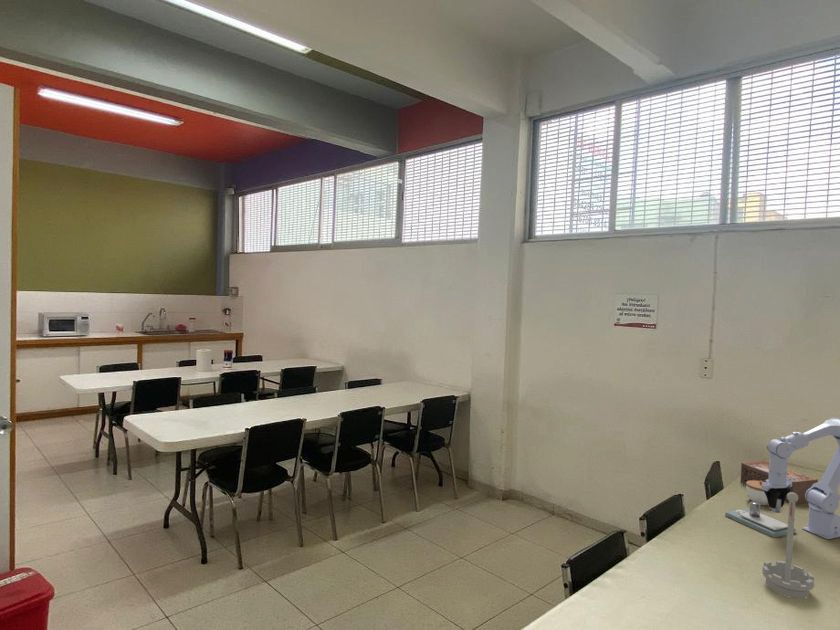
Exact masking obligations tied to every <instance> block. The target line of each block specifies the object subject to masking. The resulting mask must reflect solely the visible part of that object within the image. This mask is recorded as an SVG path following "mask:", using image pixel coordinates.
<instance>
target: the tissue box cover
mask: <svg viewBox="0 0 840 630" xmlns="http://www.w3.org/2000/svg"><path fill="white" fill-rule="evenodd" d="M740 464H741V467H740V482H739V483H740V484H742V483H743V484H742V485H744V484H745V485H744V486H746V482H747V481H751V480H754V481H762V482H766V480H768V477H769V461H766V460H760V461H748V462H741V463H740ZM787 480H788V481H791V482H792V487H789V486H788V487H787V488H788V489H790V490H791V492H793V493H796V494H797V495H798V501H797V502H795V505H797V504H804V503H808V501H807V500H806V498H805V493H806V491H807V490H808V489H810V488H811V487H812V485H813V484H814V483H817V482H819V479H818V478H815V477H812V476H809V475H806V474H804V473H801V472H798V471H795V470H792V469H790V468H787ZM785 502H786V503H788V504H789V500H788V499H787V497H786V500H785Z"/></svg>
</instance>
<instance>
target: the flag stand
mask: <svg viewBox="0 0 840 630" xmlns="http://www.w3.org/2000/svg"><path fill="white" fill-rule="evenodd" d="M787 499H788V500H789V503H788V514H787V515H788V517H787V525H788V531H787V535H786V546H785V547H786V550H785V561H783V560H775V563H772V561H770V560H766V561H764V562H763V565H762V575H763V577H764V578H765V585H766V586H767V587H768V588H769V589H770V590H771V589H772V592H775V593H776V594H779V595H781V594H782V596H784V595H785V597H787V596H790V597H789V598H791V597H794V598H793V599H798V598H802V599H806V598H805V597H807V598H809V597H810V591H811V590H812V589H814V587H815V576H814V575H813V574H812V573H811V572H804V570H805V569H804V568H803V567H801V566H798V565H796V564H793V565H792V563H793V562H792V561H793V546H794V533H793V532H794V527H795V516H796V515H795V512H796V504H795V502H797V501H798V495H797V494H796V493H793V492H790V493H788V494H787ZM792 566H793V567H792Z"/></svg>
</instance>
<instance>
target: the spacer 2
mask: <svg viewBox="0 0 840 630" xmlns="http://www.w3.org/2000/svg"><path fill="white" fill-rule="evenodd" d="M769 511H770V512H772V513H775V514H776V513H777V514H780V513H782V512H781V511H782V507H781V498H779V497H778V499H777V504H776V508H775V509H774V508H771V507H769Z"/></svg>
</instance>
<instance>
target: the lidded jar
mask: <svg viewBox="0 0 840 630" xmlns="http://www.w3.org/2000/svg"><path fill="white" fill-rule="evenodd" d="M765 483H766V482H762V481H754V480H751V481H747V482H746V485H745V486H746V487H745V488H746V489H745V490H746V494H747V496H748V498H749V499H750V500H751V501H754V502H758V503H760V504H761V505H760V506H767V505H768V500H767V497H766V494H765V492H764V491H763V490H762V489H761V488H762V484H765ZM751 501H750V502H751Z"/></svg>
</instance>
